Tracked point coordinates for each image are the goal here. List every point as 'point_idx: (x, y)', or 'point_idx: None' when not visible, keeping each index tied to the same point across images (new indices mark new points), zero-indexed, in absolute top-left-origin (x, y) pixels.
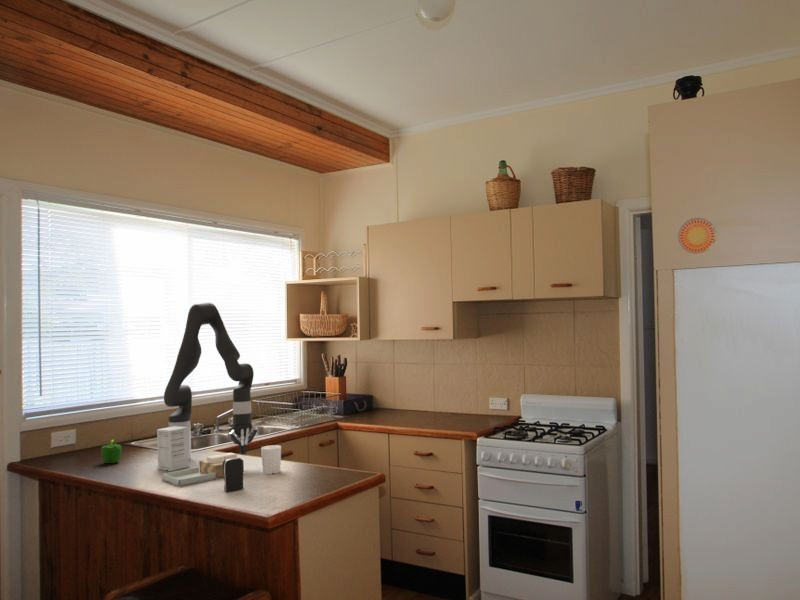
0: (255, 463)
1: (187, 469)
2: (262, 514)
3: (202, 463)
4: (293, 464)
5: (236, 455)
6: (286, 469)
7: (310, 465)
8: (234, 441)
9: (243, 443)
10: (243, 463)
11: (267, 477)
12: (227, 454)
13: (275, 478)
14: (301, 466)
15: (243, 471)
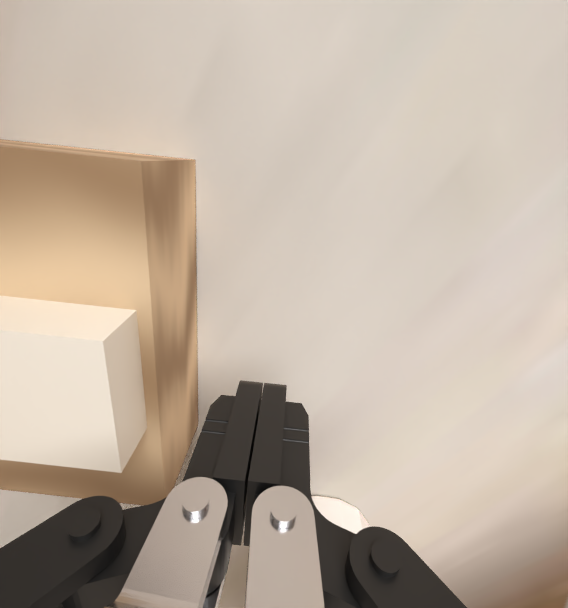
0: (474, 246)
1: None
2: None
3: None
4: (550, 502)
5: (126, 458)
6: (413, 545)
7: (557, 578)
8: (20, 574)
9: (215, 587)
10: (174, 482)
11: (230, 573)
12: (19, 409)
13: (243, 604)
14: (515, 560)
15: (193, 431)
